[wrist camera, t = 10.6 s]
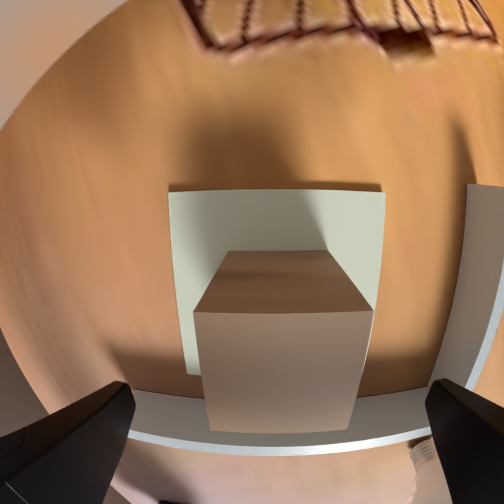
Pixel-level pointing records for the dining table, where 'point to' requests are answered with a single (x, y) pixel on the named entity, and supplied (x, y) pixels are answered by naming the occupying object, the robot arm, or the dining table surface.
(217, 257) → the plate
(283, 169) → the dining table surface
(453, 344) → the plastic wall
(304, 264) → the walnut block
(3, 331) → the dining table surface
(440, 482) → the lightbulb
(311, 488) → the dining table surface
